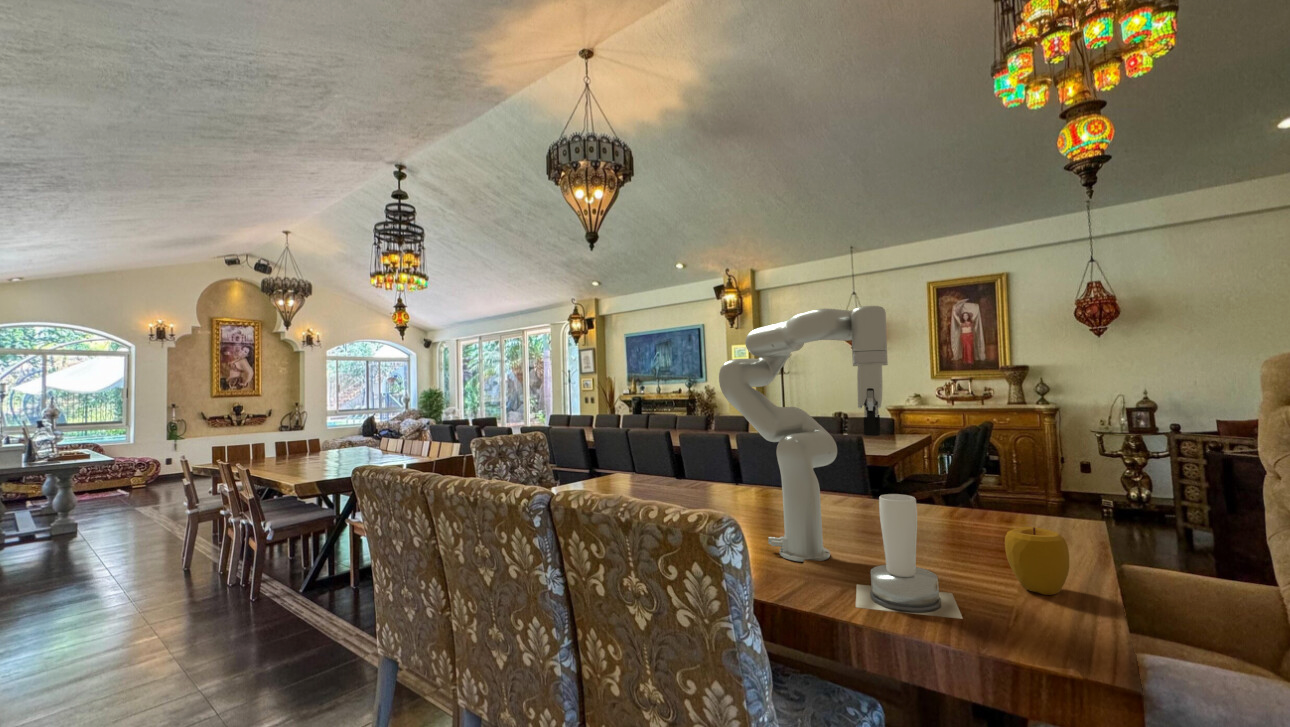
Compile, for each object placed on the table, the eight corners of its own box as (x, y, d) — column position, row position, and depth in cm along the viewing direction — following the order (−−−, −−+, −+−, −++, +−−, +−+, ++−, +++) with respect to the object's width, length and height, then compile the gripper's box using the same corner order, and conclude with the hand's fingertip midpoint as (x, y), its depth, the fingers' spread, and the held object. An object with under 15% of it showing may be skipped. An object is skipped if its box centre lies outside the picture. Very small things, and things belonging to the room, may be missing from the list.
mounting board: (855, 612, 103) (855, 607, 103) (856, 589, 115) (856, 584, 115) (963, 624, 97) (962, 618, 97) (952, 598, 109) (952, 593, 109)
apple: (1003, 578, 118) (999, 519, 119) (1064, 584, 114) (1059, 522, 114) (1013, 596, 108) (1008, 531, 109) (1079, 603, 104) (1074, 535, 105)
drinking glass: (918, 581, 102) (914, 502, 103) (879, 576, 106) (876, 499, 106) (921, 570, 108) (917, 495, 108) (885, 565, 111) (881, 492, 112)
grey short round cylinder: (870, 608, 103) (869, 581, 103) (870, 585, 114) (868, 561, 115) (945, 616, 98) (943, 588, 98) (937, 591, 110) (935, 566, 110)
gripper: (854, 361, 134) (856, 429, 134) (850, 359, 119) (853, 436, 118) (887, 360, 131) (889, 430, 131) (887, 357, 116) (890, 437, 115)
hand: (872, 433), depth 124 cm, fingers open, 9 cm apart
